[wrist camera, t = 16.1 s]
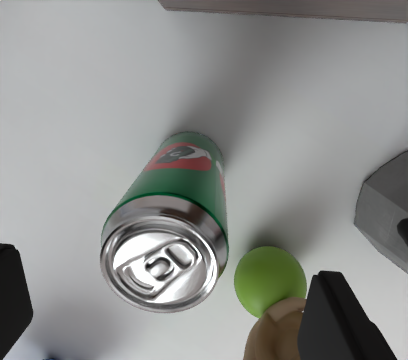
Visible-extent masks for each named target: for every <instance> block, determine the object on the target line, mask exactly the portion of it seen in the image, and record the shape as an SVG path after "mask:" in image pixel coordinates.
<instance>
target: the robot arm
mask: <svg viewBox="0 0 408 360" xmlns="http://www.w3.org/2000/svg"><path fill="white" fill-rule="evenodd" d="M32 317H33V308H32V304H31V300H30V296H29V291H28V287H27V283H26V279H25V274H24V270H23V266H22V261H21V257H20V253H19V251H18V250H16V249H15V247H14V246H13V245H11V244H2V243H0V360H3V358H4V357H5V356H6V354H7V353H8V352H9V350H10V349H11V348H12V346H13V345H14V344H15V343H16V341H17V340H18V339H19V337H20V336H21V335H22V333H23V332H24V331H25V329H26V328H27V327H28V325H29V324H30V322H31V320H32ZM297 346H298V351H299V355H300V359H301V360H397V358H396V357H395V355H394V353H393V352H392V350H391V348H390V347H389V345H388V343H387V342H386V340H385V338H384V337H383V335H382V333H381V332H380V330H379V329H378V327H377V326H376V325H375V324H374V323H373V322H371V321H370V320H369V318H368V317H367V315H366V313H365V312H364V310H363V308H362V307H361V305H360V303H359V301H358V300H357V298H356V296H355V295H354V293H353V291H352V290H351V288H350V286H349V284H348V283H347V281H346V279H345V278H344V276H343V275H342V273H340V272H334V271H320V272H319V273H318V275H313V277H312V280H311V284H310V288H309V292H308V296H307V300H306V304H305V308H304V312H303V316H302V320H301V324H300V328H299V332H298V336H297Z"/></svg>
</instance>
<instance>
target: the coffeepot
mask: <svg viewBox="0 0 408 360" xmlns="http://www.w3.org/2000/svg"><path fill="white" fill-rule="evenodd" d="M354 225H355V226H356V227H357V228H358V229H359V230H360V231H361V233H362V234H363V235H364V236H365V237H366V238H367V239H368V240H369V241H370V243H371V244H372V245H373V246H374V247H375V248H376V249H377V250H378V252H380V253H381V254H382V255H384V256H385V257H386V258H388V259H389V260H390V261H392V262H393V263H394V264H396V265H397V266H398V267H400V268H401V269H402V270H404V271H405V272H406V273H408V151H407V152H405V153H403V154H402V155H400V156H398V157H396V158H395V159H393V160H391V161H390V162H388V163H387V164H385V165H383V166H382V167H381V168H380V169H379V170H377V171H376V172H375V173H374V174H373V175H372V176H371V177H370V178H369V179H368V180H367V181H365V182H364V184H363V186H362V189H361V192H360V195H359V198H358V200H357V206H356V217H355V221H354Z"/></svg>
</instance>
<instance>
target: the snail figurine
mask: <svg viewBox="0 0 408 360" xmlns="http://www.w3.org/2000/svg"><path fill="white" fill-rule="evenodd" d="M234 285H235V291H236V294H237V297H238V299H239V301H240V302H241V304H242V305H243V307H244V308H245V309H246V310H247V311H248V312H249V313H251V314H252V315H254V316H255V317H257V318H259V320H258V321H257V323H256V324H255V325H254V326H253V328H252V329H251V331H250V333H249V336H248V339H247V343H246V347H245V352H244V358H243V360H301V359H300V355H299V351H298V346H297V336H298V332H299V328H300V324H301V320H302V316H303V313H302V311H303V310H304V308H305V304H306V300H307V299H305V296H306V291H307V282H306V277H305V274H304V271H303V269H302V267H301V265H300V264H299V262H298V261H297V260H296V259H295V258H294V257H293V256H292V255H291V254H290V253H288V252H287V251H285V250H283V249H280V248H277V247H273V246H262V247H258V248H255V249H253V250H251V251H249V252H248V253H247V254H245V255H244V256H243V258H242V259H241V260H240V262H239V263H238V265H237V268H236V271H235V276H234Z"/></svg>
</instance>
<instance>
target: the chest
mask: <svg viewBox="0 0 408 360" xmlns="http://www.w3.org/2000/svg"><path fill="white" fill-rule="evenodd" d="M158 1H159V2H160V3H161V5H162V6H163V7H164V8H165V9H166V10H172V11H190V12H209V13H228V14H246V15H265V16H283V17H302V18H321V19H339V20H358V21H377V22H395V23H407V22H408V0H158Z"/></svg>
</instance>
